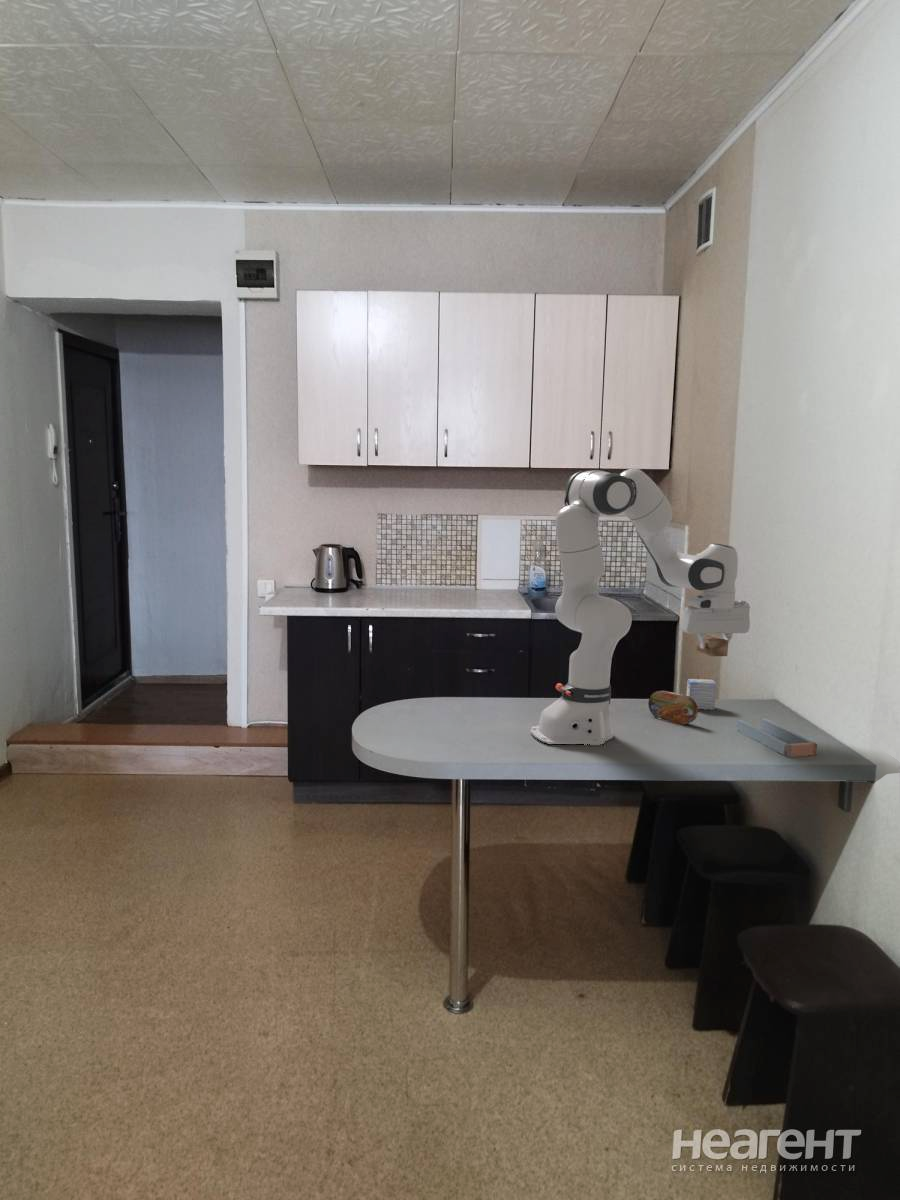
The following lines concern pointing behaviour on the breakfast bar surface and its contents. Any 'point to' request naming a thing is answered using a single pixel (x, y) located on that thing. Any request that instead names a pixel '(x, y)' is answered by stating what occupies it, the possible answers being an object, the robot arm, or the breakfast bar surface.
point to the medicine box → (702, 692)
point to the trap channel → (794, 749)
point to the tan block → (714, 646)
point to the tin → (673, 707)
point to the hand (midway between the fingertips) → (713, 648)
